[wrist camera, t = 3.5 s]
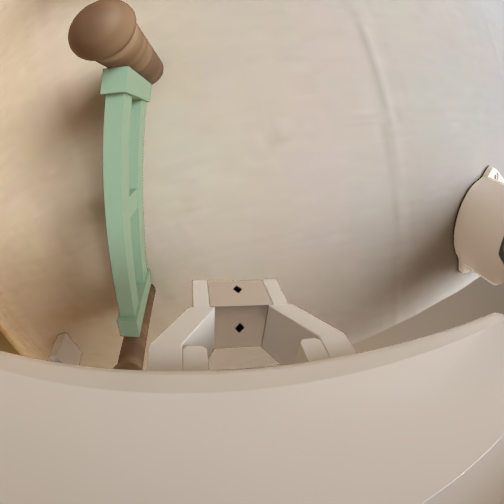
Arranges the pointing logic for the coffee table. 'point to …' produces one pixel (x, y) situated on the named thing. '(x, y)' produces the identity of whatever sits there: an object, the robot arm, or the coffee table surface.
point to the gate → (126, 191)
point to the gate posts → (114, 55)
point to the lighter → (65, 350)
